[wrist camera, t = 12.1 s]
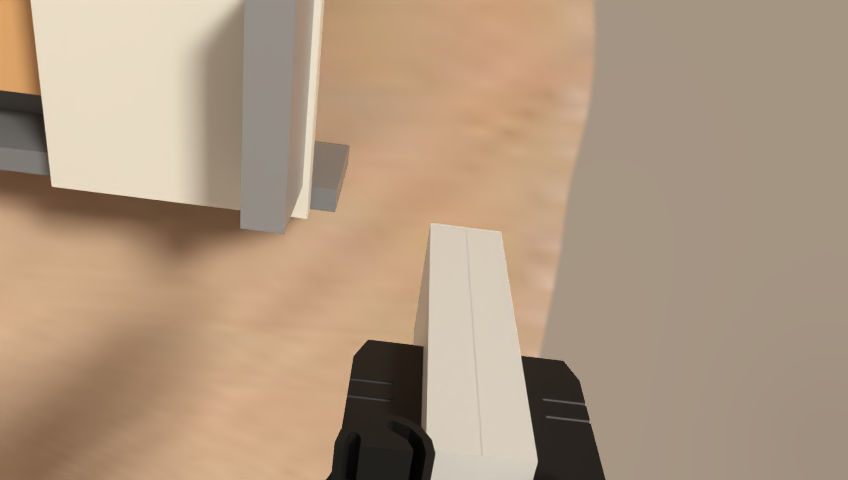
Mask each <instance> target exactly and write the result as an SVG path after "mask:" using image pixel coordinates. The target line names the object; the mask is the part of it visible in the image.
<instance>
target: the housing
mask: <svg viewBox="0 0 848 480" xmlns="http://www.w3.org/2000/svg"><path fill="white" fill-rule="evenodd" d="M348 155H349V146H346V145H339V144H331V143H324V142H316V141H315V143H314V157H313V172H312V186H311V201H310V209H315V210H322V211H330V212H335V210H336V206H337V203H338V199H339V195H340V191H341V188H342V184H343V180H344V177H345V173H346V169H347V165H348ZM0 170H7V171H15V172H23V173H31V174H39V175H46V176H50V167H49V158H48V149H47V140H46V132H45V123H44V114H43V105H42V97H41V88H40V79H39V70H38V61H37V53H36V44H35V35H34V26H33V18H32V9H31V0H0Z"/></svg>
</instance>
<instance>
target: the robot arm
mask: <svg viewBox="0 0 848 480" xmlns="http://www.w3.org/2000/svg"><path fill="white" fill-rule="evenodd" d="M326 480H605V477H604V473H603V469H602V465H601V461H600V458H599V453H598V450H597V446H596V442H595V439H594V434H593V431H592V427H591V424H589V415H588V412H587V408H586V406H585V400H584V396H583V393H582V389H581V385H580V381H579V380H578V379H577V377H576V376H575V375H574V373H573V372H572V371H571V370H570V369H569V367H568V366H567V365H566V364H565V362H564V361H559V360H551V359H543V358H534V357H526V356H521V354H520V347H519V341H518V335H517V329H516V322H515V316H514V310H513V304H512V298H511V291H510V285H509V279H508V273H507V267H506V260H505V254H504V248H503V242H502V235H501V232H499V231H492V230H484V229H476V228H468V227H460V226H452V225H444V224H436V223H431V224H430V230H429V237H428V243H427V250H426V256H425V262H424V269H423V275H422V282H421V288H420V295H419V301H418V308H417V314H416V321H415V327H414V345H409V344H400V343H392V342H383V341H375V340H368V341H367V342H366V343H365V344H364V345H363V346H362V347H361V349H360V350H359V351H358V352H357V353H356V354H355V355H354V357H353V363H352V370H351V376H350V382H349V388H348V394H347V400H346V406H345V412H344V418H343V424H342V429H341V430H340V432H339V435H338V437H337V439H336V441H335V445H334V455H333V465H332V472H331V474H330V475H329V477H328V478H327V479H326Z"/></svg>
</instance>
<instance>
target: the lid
mask: <svg viewBox="0 0 848 480" xmlns="http://www.w3.org/2000/svg"><path fill="white" fill-rule="evenodd" d="M31 9H32V18H33V26H34V35H35V44H36V53H37V61H38V70H39V79H40V88H41V97H42V105H43V114H44V123H45V132H46V140H47V149H48V158H49V167H50V176H51V184H52V187H58V188H66V189H74V190H82V191H90V192H98V193H106V194H114V195H122V196H130V197H138V198H146V199H154V200H161V201H169V202H177V203H185V204H193V205H201V206H209V207H217V208H225V209H233V210H241V211H240V229H247V230H255V231H263V232H271V233H279V234H284V233H285V231H286V228H287V226H288V223H289V220H290V218H291V217H296V218H304V219H307V217H308V214H309V211H310V201H311V186H312V172H313V157H314V143H315V129H316V114H317V100H318V85H319V71H320V56H321V42H322V28H323V13H324V0H31Z"/></svg>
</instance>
